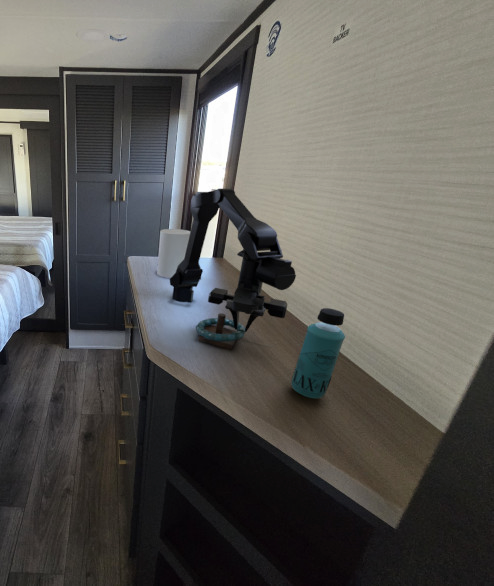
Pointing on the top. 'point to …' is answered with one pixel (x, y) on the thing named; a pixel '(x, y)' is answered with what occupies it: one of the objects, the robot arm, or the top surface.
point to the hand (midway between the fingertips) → (240, 330)
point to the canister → (171, 251)
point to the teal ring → (220, 337)
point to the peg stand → (219, 330)
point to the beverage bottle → (319, 354)
